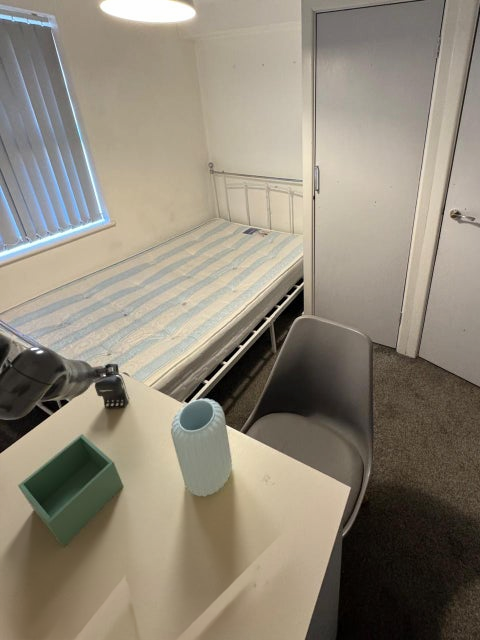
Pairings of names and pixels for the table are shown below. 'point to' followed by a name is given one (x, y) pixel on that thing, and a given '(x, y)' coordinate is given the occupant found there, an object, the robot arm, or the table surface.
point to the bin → (72, 488)
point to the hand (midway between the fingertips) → (91, 378)
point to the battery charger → (113, 391)
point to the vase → (202, 446)
